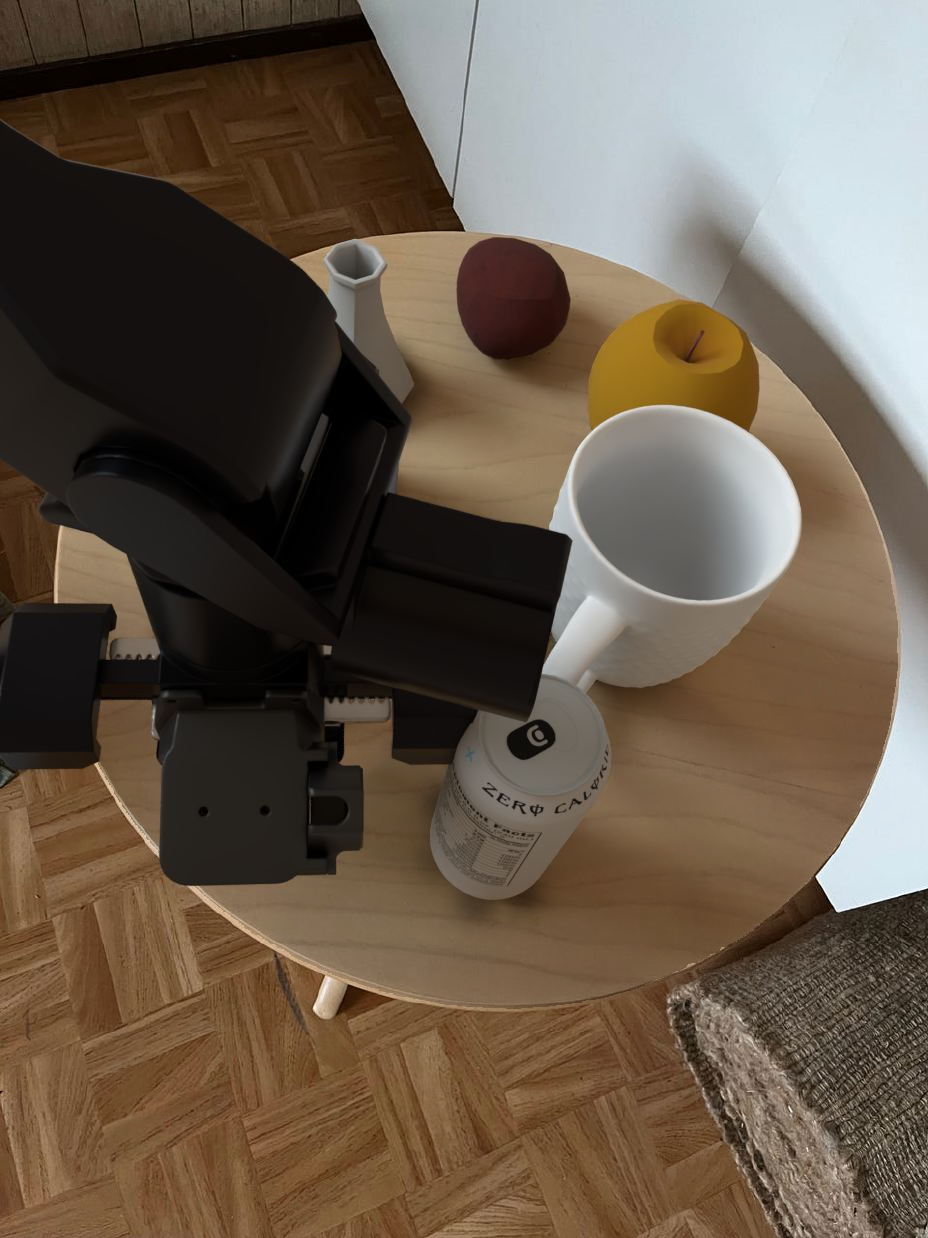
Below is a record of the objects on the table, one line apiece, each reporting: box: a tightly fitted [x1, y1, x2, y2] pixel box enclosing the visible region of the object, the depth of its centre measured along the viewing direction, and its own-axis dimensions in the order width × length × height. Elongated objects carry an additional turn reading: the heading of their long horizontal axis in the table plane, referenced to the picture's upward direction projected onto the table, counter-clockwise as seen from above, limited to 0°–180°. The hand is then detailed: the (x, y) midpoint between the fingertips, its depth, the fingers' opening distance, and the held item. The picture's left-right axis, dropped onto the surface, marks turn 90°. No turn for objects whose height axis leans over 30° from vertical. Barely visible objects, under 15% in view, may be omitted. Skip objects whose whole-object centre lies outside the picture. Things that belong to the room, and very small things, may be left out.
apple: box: [587, 299, 761, 432], centre depth 58 cm, size 10×10×12 cm
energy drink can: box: [429, 674, 612, 901], centre depth 44 cm, size 6×6×15 cm
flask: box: [323, 238, 415, 404], centre depth 59 cm, size 7×7×10 cm
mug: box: [542, 405, 803, 694], centre depth 51 cm, size 15×11×13 cm
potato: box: [455, 236, 572, 361], centre depth 64 cm, size 7×8×6 cm
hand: (264, 757), depth 47 cm, fingers closed
